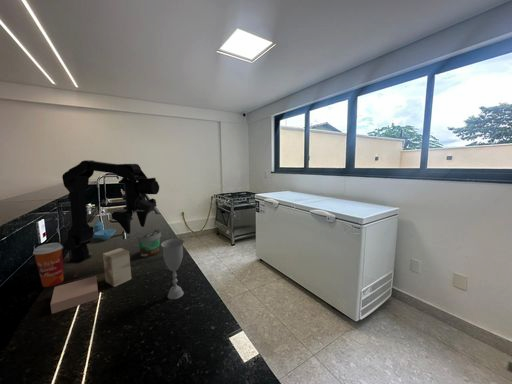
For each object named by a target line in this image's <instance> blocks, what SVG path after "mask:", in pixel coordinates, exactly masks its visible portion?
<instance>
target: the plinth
mask: <svg viewBox="0 0 512 384" xmlns="http://www.w3.org/2000/svg"><path fill="white" fill-rule="evenodd" d="M97 279H98V278H97V275H94V276H91V277H87V278H83V279H79V280H75V281H72V282H68V283H65V284H59V285H55V286H54V287H53V288H54V289H53V292H52V297H51V300H50V311H51V314H57V313H59V312H62V311H65V310H67V309H68V310H69V309H71V308H74V307H77V306H80V305H84V304H87V303H90V302H93V301H96V300H99V288H98V280H97Z"/></svg>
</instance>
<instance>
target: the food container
mask: <svg viewBox="0 0 512 384" xmlns="http://www.w3.org/2000/svg"><path fill="white" fill-rule="evenodd" d="M161 237H162V233H161V231H160V230H159V229H154V231H152V232H150V233H148V234H145V235H144V236H143V237H137V243H138V245H139V251H140V252H139V253H140V257H141V259H143V258H144V259H145V258H151V257H154V256H155V257H156V256H157V255H159V253H160V252H159V251H160V247H161V246H160V245H161V244H160V242H161V239H160V238H161Z"/></svg>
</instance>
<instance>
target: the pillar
mask: <svg viewBox="0 0 512 384" xmlns="http://www.w3.org/2000/svg"><path fill="white" fill-rule="evenodd" d="M102 259H103V260H102V261H103V268H104V276H105V278H104V279H105V283H107V284H109V285H110V286H112V287H113V288H114V287H118V286H119V285H122V284H124V283H126V282H128V281H130V280H132V270H131V257H130V250H127V249H125V248H122V247H118V248H115V249H113V250H109V251H106V252H104V253H102Z"/></svg>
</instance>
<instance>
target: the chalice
mask: <svg viewBox="0 0 512 384" xmlns="http://www.w3.org/2000/svg"><path fill="white" fill-rule="evenodd" d="M184 243H185V241H184V240H183V239H182V238H172V239H170V238H169V239H167V240H165V241H162V242H161V244H160V245H161V246H160V247H162V253H163V254H162V256H163V261H164V264H165V265H166V267H167V269H168V270H169V271H170V272H172V275H171V276H172V281H171V282H172V285H173V286H172V287H171V288H170V289H169V292H168V293H167V298H168V299H169V300H177V299H180V298H181V297H183V295H184V294H185V293H184V291H183V289H182V287H181V286H180V285H178V281H179V280H178V279H177V277H178V274H177V271H178V270H179V268H180V266H181V263H182V260H183V257H184V250H183V247H184V246H183V245H184Z"/></svg>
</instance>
